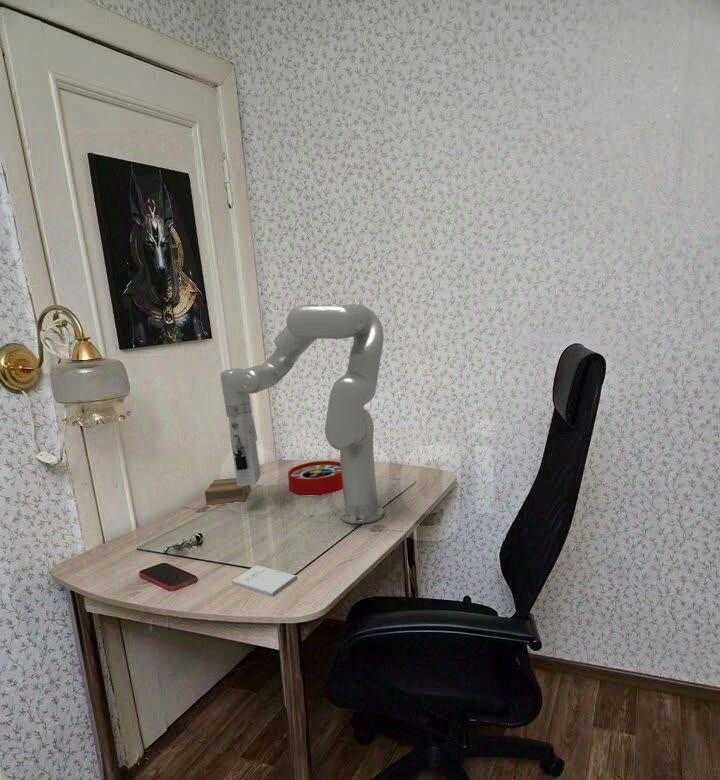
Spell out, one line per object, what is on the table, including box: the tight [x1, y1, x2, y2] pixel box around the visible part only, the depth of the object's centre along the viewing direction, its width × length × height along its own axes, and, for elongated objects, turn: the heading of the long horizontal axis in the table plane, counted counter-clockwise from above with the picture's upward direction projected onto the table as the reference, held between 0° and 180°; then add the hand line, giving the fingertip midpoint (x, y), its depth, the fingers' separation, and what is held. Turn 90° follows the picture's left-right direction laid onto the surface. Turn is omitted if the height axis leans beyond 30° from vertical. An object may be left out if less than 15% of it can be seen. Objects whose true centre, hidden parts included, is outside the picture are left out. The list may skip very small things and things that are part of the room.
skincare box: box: [230, 435, 261, 486], centre depth 165 cm, size 8×6×15 cm
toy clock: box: [287, 460, 343, 496], centre depth 184 cm, size 20×6×20 cm
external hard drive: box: [231, 564, 298, 598], centre depth 122 cm, size 2×8×12 cm
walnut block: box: [204, 477, 252, 506], centre depth 180 cm, size 12×12×5 cm
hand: (247, 464), depth 165 cm, fingers closed on skincare box, 8 cm apart
